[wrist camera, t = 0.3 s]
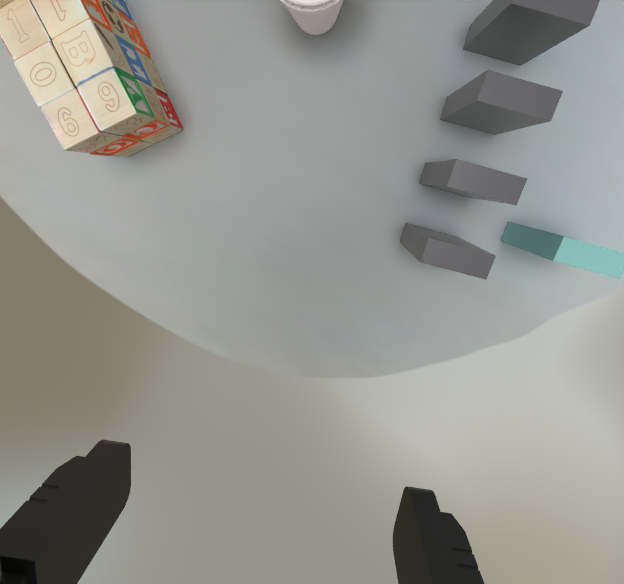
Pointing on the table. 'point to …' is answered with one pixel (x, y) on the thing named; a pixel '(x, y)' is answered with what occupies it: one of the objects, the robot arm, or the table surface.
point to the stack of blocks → (89, 74)
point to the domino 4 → (565, 250)
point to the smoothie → (314, 14)
